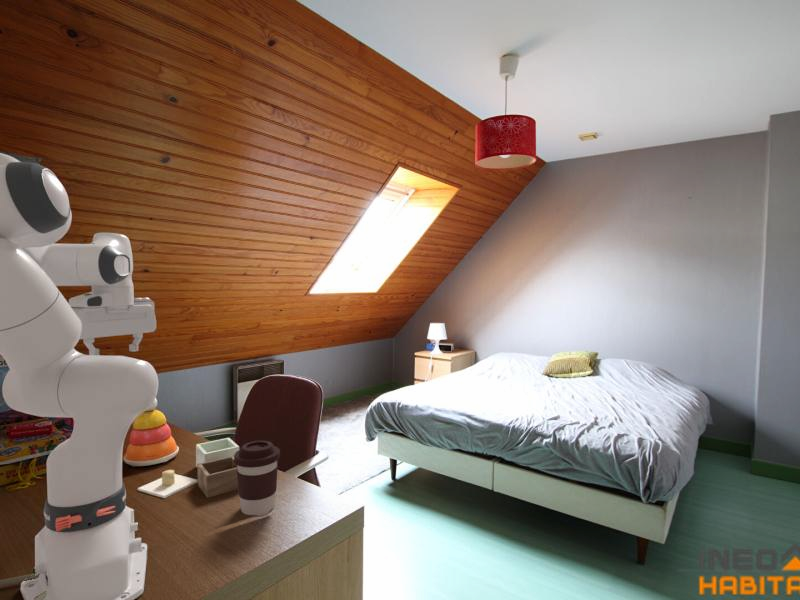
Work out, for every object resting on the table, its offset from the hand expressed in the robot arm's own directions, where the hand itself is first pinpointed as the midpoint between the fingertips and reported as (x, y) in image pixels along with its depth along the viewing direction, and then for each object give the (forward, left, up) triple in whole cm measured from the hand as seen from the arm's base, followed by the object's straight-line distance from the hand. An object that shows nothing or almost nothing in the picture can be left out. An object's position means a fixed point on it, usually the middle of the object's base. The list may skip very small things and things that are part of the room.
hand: (114, 353), depth 113 cm
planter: (-5, -23, -34) cm, 41 cm away
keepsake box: (-17, -20, -34) cm, 43 cm away
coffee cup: (-33, -24, -34) cm, 53 cm away
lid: (-9, -10, -34) cm, 36 cm away
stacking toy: (+15, -10, -34) cm, 39 cm away
